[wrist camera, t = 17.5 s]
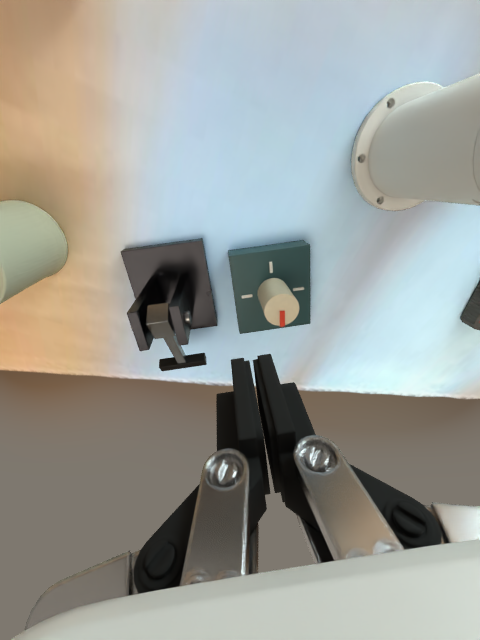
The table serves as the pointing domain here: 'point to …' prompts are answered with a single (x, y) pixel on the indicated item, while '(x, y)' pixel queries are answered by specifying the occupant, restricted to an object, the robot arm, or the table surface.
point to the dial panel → (265, 264)
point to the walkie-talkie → (473, 310)
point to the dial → (277, 302)
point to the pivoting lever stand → (170, 287)
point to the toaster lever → (170, 339)
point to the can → (28, 247)
